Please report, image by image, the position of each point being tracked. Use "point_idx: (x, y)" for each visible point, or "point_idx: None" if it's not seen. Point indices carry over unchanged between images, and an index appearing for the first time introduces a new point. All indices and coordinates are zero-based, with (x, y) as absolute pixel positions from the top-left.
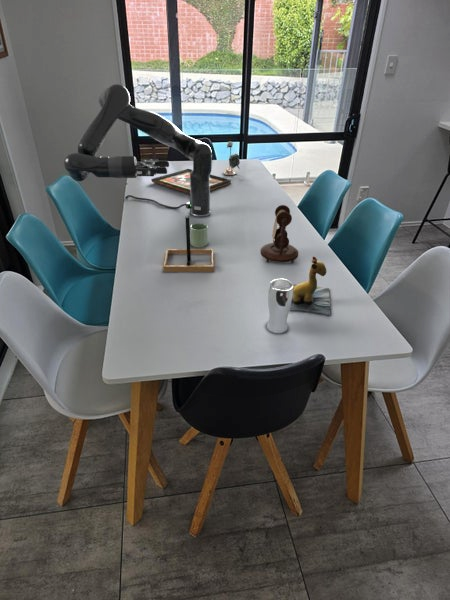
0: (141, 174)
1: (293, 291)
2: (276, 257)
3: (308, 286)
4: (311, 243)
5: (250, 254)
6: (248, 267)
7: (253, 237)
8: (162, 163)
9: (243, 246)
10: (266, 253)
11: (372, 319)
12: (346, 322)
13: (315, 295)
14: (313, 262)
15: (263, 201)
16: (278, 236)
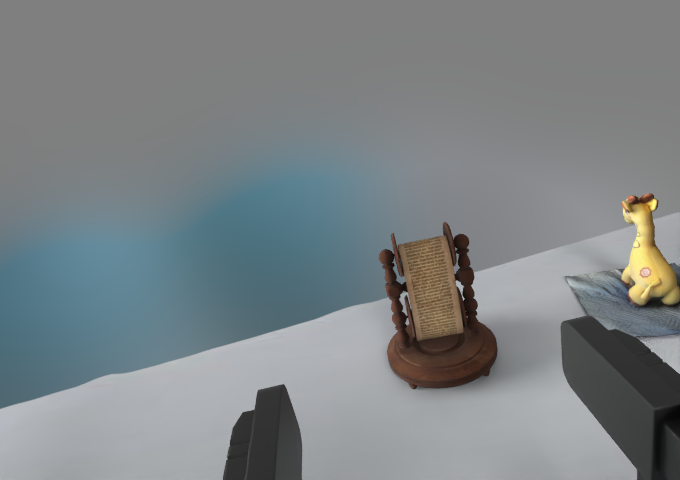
0: None
1: (671, 285)
2: (490, 340)
3: (660, 252)
4: (349, 321)
5: (450, 421)
6: (546, 411)
7: (316, 433)
8: (285, 468)
9: (393, 449)
10: (476, 360)
11: (632, 234)
12: (675, 250)
13: (612, 285)
14: (653, 197)
15: (17, 451)
16: (460, 296)
